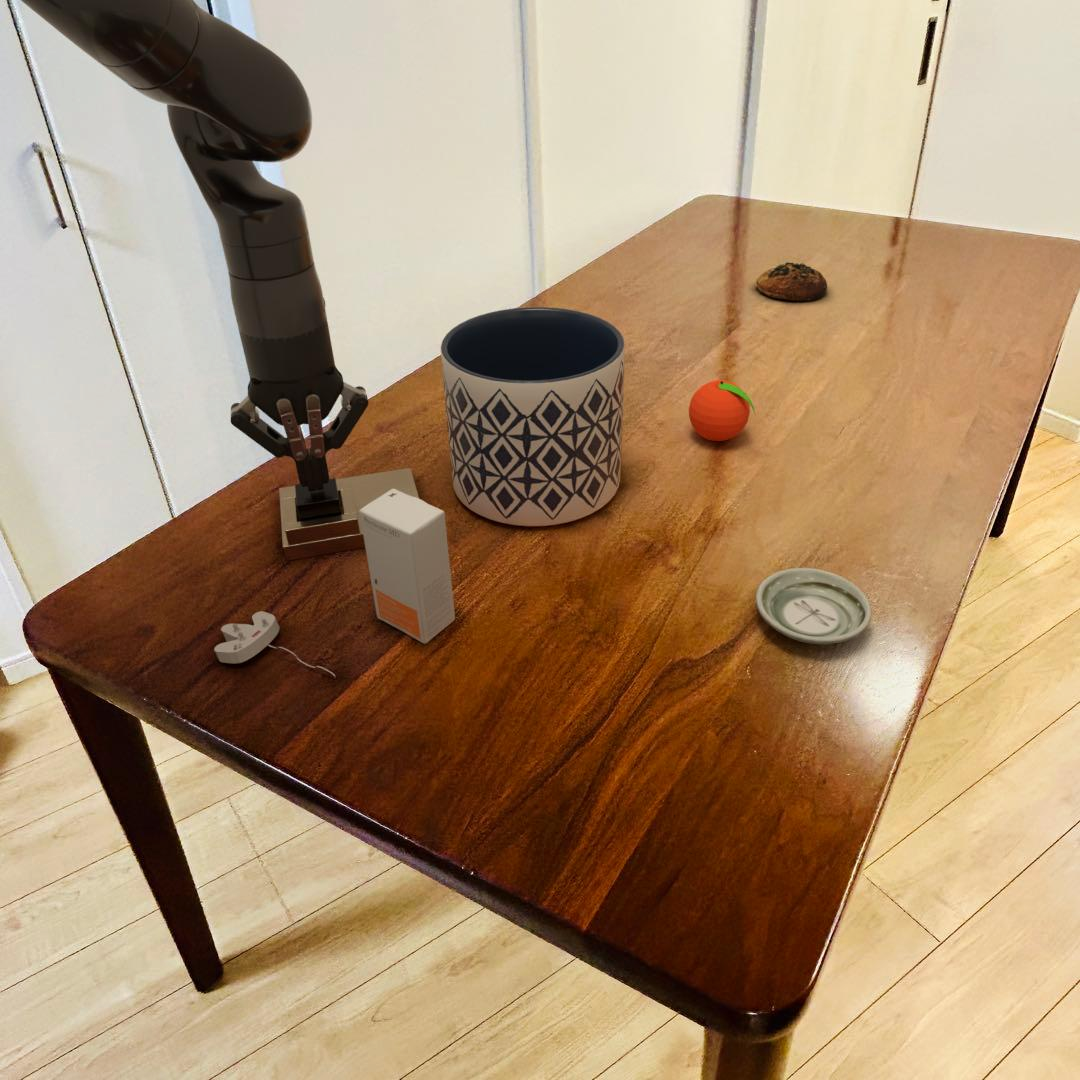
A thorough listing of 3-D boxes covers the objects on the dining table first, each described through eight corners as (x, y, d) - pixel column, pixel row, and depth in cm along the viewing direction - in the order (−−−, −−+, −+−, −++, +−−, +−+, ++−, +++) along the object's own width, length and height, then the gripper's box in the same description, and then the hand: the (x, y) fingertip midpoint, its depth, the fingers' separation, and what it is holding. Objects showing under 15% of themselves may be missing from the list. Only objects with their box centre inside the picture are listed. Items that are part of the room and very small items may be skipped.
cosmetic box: (375, 620, 80) (356, 508, 73) (408, 595, 83) (393, 485, 76) (425, 647, 77) (410, 534, 70) (458, 620, 80) (446, 509, 73)
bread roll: (815, 306, 136) (816, 273, 133) (745, 303, 142) (744, 271, 139) (837, 286, 144) (838, 254, 141) (769, 284, 149) (769, 253, 147)
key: (300, 523, 88) (296, 505, 86) (298, 501, 91) (294, 484, 90) (341, 516, 88) (338, 498, 87) (338, 494, 92) (335, 477, 90)
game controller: (235, 621, 81) (229, 598, 79) (358, 634, 79) (354, 612, 78) (206, 665, 76) (198, 642, 75) (335, 680, 75) (331, 657, 73)
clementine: (765, 437, 105) (773, 381, 101) (735, 461, 101) (742, 404, 97) (705, 417, 109) (711, 363, 105) (674, 440, 105) (679, 384, 101)
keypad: (286, 561, 88) (279, 531, 86) (282, 501, 96) (275, 473, 94) (428, 536, 91) (424, 507, 89) (412, 480, 99) (408, 453, 97)
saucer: (731, 627, 79) (734, 606, 77) (786, 574, 84) (789, 553, 83) (835, 677, 73) (840, 656, 72) (885, 617, 79) (891, 596, 78)
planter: (503, 551, 88) (495, 400, 79) (425, 469, 101) (409, 331, 91) (653, 496, 96) (662, 352, 86) (563, 426, 108) (562, 294, 99)
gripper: (200, 344, 74) (246, 518, 84) (363, 324, 76) (388, 495, 86) (203, 311, 79) (246, 477, 90) (354, 293, 82) (379, 457, 92)
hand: (316, 486), depth 88 cm, fingers closed
